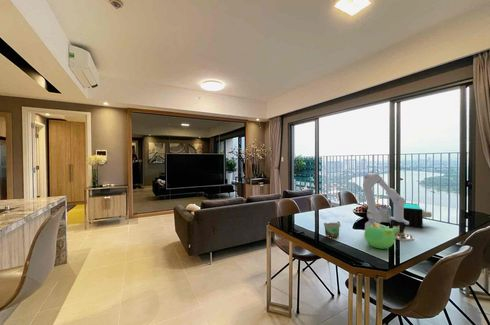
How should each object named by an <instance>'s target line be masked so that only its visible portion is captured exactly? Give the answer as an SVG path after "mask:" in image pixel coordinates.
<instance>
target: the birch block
mask: <svg viewBox="0 0 490 325" xmlns="http://www.w3.org/2000/svg"><path fill="white" fill-rule="evenodd" d="M392 228H399V225H398V226H393V225H392ZM405 233H406V229H404V232H403V233H400V228H399V230H398V231H397V232H396V233H395V234H394V235H398V236H402V235H405Z"/></svg>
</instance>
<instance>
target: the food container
mask: <svg viewBox="0 0 490 325" xmlns="http://www.w3.org/2000/svg"><path fill="white" fill-rule="evenodd" d="M323 226H324V234H325V237H326V236H327V237H326V238H328V237H331V238H330V239H338V238H339V234H340V227H341V222H340V221H337V222H329V223H328V222H324V223H323ZM337 237H338V238H337Z"/></svg>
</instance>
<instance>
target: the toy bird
mask: <svg viewBox="0 0 490 325" xmlns="http://www.w3.org/2000/svg"><path fill="white" fill-rule="evenodd" d="M398 230H399V228H393V227H392V228H390V227H388V226H386V225H384V224H381V223H380V224H378V223H376V222H374V224H373V225H370V226H368V227H367V229H366V230H365V229H364V239H365V241H366V242H367V244H369V245H370V247H371V246H372V247H373V248H376V249H381V250H385V249H389V248H391V247H392V246H393V245H394V243H395V240H396V238H395V236H396V234H395V233H396V232H397V231H398Z"/></svg>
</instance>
